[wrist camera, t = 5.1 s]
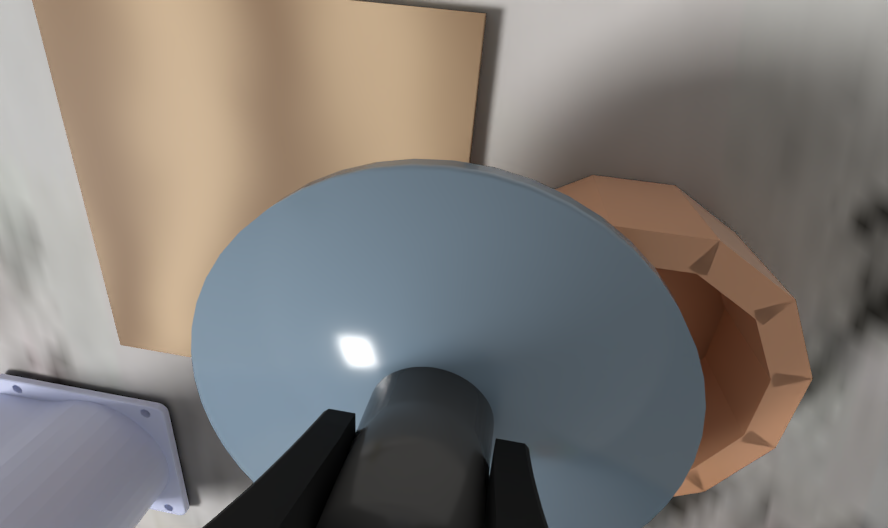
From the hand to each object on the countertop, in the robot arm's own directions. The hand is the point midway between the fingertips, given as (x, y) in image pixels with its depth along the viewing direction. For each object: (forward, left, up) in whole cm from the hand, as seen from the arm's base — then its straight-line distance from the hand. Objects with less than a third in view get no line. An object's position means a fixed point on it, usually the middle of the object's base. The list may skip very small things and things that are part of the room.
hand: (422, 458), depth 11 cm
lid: (0, 0, -2) cm, 2 cm away
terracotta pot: (+5, -1, -9) cm, 11 cm away
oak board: (-8, +1, -9) cm, 12 cm away
